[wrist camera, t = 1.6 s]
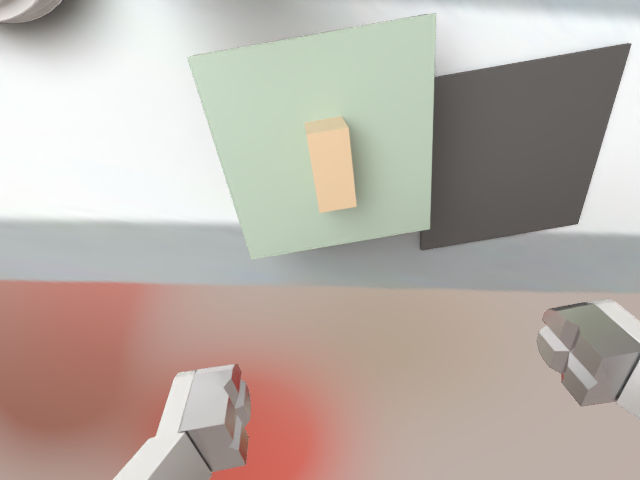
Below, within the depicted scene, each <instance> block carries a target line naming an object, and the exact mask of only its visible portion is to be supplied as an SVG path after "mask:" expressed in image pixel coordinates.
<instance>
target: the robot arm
mask: <svg viewBox="0 0 640 480" xmlns="http://www.w3.org/2000/svg"><path fill="white" fill-rule="evenodd" d="M542 320H543V321H544V323H545V324H546V325H545V326H544V327H543V328H542V329H541V330H540V331H539V333H538V337H537V344H538V349H539V352H540V354H541V356H542V358H543V359H544V361H545V362H546V363H547V365H548V366H549V367H550V368H552V369H554V370H555V371H557V372H559V373H561V375H562V383H563V385H564V386H565V387H566V389H567V390H568V391H569V392H570V394H571V395H572V396H573V397H574V398H575V400H576V401H577V402H578V403H579V405H580V406H588V405H595V404H601V403H608V402H615V401H617V402H616V404H618V405H619V406H621V407H622V408H624V409H626V410H627V411H629V412H630V413H632V414H633V415H635V416H637V417H638V418H640V321H639V320H638V319H636V318H635V317H634V316H633V315H631V314H630V313H629V312H628V311H627V310H625V309H624V308H623V307H622V306H620V305H619V304H618V303H617V302H615V301H613V300H610V299H603V300H597V301H592V302H586V303H585V302H584V303H578V304H573V305H568V306H562V307H557V308H552V309H548V310H547V311H546V312H545V313H544V315H543V319H542ZM250 413H251V404H250V394H249V389H248V386H247V384H246V382H244V381H242V380H241V370H240V368H239V366H238V364H232V365H225V366H218V367H212V368H206V369H199V370H192V371H186V372H180V373H178V374H177V376H176V377H175V378H174V381H173V384H172V387H171V390H170V393H169V396H168V399H167V402H166V406H165V409H164V412H163V415H162V418H161V421H160V424H159V427H158V431H157V434H156V437H154V438H149V439H148V440H147V442H146V443H145V444H144V445H143V446H142V447H141V448H140V450H139V451H138V452H137V453H136V454H135V455H134V457H133V458H132V459H131V460H130V461H129V462H128V463H127V464H126V465H125V466H124V468H123V469H122V470H121V471H120V472H119V473H118V474H117V476H116V477H115V478H114V479H113V480H209V479H210V477H211V475H212V473H211V472H214V471H218V470H224V469H229V468H234V467H238V466H243V465H246V460H247V449H248V438H249V437H248V435H247V433H246V431H245V428H244V427H245V426H246V425H247V423H248V422H249V420H250Z"/></svg>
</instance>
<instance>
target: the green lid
mask: <svg viewBox="0 0 640 480" xmlns="http://www.w3.org/2000/svg"><path fill="white" fill-rule="evenodd" d="M435 36H436V13H434V14H425V15H418V16H413V17H407V18H401V19H396V20H390V21H385V22H379V23H373V24H368V25H362V26H356V27H351V28H345V29H339V30H334V31H328V32H322V33H317V34H311V35H305V36H300V37H294V38H289V39H283V40H277V41H272V42H266V43H260V44H255V45H249V46H243V47H238V48H232V49H226V50H221V51H215V52H209V53H204V54H198V55H194V56H190V57H187V58H188V62H189V65H190V68H191V71H192V74H193V77H194V80H195V84H196V87H197V90H198V93H199V96H200V99H201V102H202V106H203V109H204V112H205V115H206V118H207V121H208V124H209V128H210V131H211V134H212V137H213V140H214V143H215V147H216V150H217V153H218V156H219V159H220V162H221V165H222V169H223V172H224V175H225V178H226V181H227V184H228V187H229V191H230V194H231V197H232V200H233V203H234V206H235V209H236V213H237V216H238V219H239V222H240V225H241V228H242V231H243V235H244V238H245V241H246V244H247V247H248V250H249V254H250V257H251V259H257V258H263V257H269V256H275V255H281V254H287V253H293V252H299V251H305V250H310V249H316V248H322V247H328V246H334V245H340V244H346V243H352V242H358V241H363V240H369V239H375V238H381V237H387V236H393V235H399V234H405V233H411V232H417V231H422V230H428V229H430V212H431V176H432V141H433V106H434V71H435Z"/></svg>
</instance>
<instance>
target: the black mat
mask: <svg viewBox="0 0 640 480" xmlns="http://www.w3.org/2000/svg"><path fill="white" fill-rule="evenodd" d="M630 47H631V44H629V43H627V44H621V45H615V46H610V47H604V48H598V49H593V50H587V51H581V52H575V53H570V54H564V55H558V56H552V57H547V58H541V59H535V60H530V61H524V62H518V63H512V64H507V65H501V66H495V67H490V68H484V69H478V70H472V71H467V72H461V73H455V74H450V75H444V76H438V77H434V106H433V141H432V176H431V212H430V229H428V230H422V231H420V249H421V250H427V249H433V248H438V247H444V246H450V245H456V244H462V243H468V242H474V241H480V240H486V239H492V238H498V237H504V236H509V235H515V234H521V233H527V232H533V231H539V230H545V229H551V228H557V227H563V226H569V225H575V224H578V222H579V218H580V215H581V212H582V208H583V205H584V202H585V198H586V195H587V191H588V188H589V185H590V181H591V178H592V175H593V171H594V168H595V165H596V161H597V158H598V154H599V151H600V148H601V144H602V141H603V138H604V134H605V131H606V128H607V124H608V121H609V118H610V114H611V111H612V107H613V104H614V101H615V97H616V94H617V91H618V87H619V84H620V81H621V77H622V74H623V70H624V67H625V64H626V60H627V57H628V54H629V50H630Z"/></svg>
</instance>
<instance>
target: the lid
mask: <svg viewBox="0 0 640 480" xmlns="http://www.w3.org/2000/svg"><path fill="white" fill-rule="evenodd" d="M61 1H62V0H0V23H21V22H28V21H32V20H35V19H38V18H41V17H42V16H44V15H46V14H48V13H49V12H51V11H52V10H53V9H54V8H55V7H57V6H58V5H59V4H60V3H61Z"/></svg>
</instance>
